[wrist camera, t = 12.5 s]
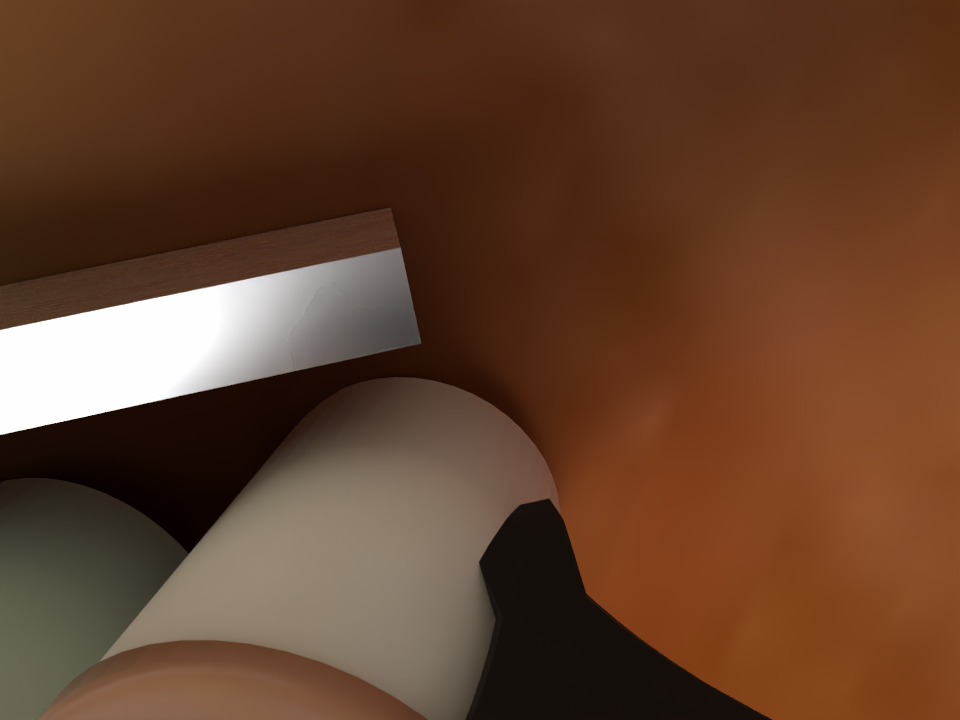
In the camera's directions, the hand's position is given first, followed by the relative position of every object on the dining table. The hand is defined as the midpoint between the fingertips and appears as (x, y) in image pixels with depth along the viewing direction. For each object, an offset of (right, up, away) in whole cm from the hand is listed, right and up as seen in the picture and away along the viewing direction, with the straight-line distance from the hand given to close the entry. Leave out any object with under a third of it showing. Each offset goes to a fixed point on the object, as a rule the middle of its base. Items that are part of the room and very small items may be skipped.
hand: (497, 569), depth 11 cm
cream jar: (-1, 0, +2) cm, 3 cm away
